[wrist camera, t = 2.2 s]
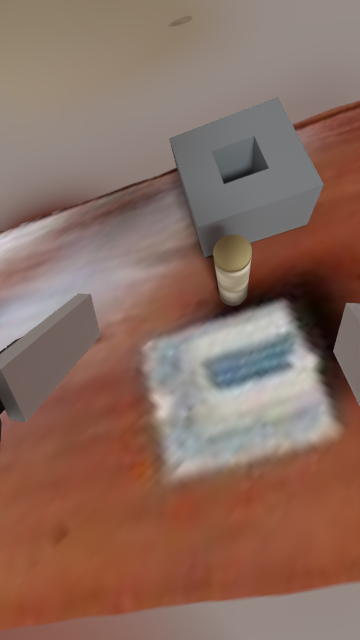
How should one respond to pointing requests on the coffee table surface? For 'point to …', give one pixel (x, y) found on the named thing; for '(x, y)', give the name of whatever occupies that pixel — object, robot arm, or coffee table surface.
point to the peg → (232, 268)
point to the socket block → (246, 176)
